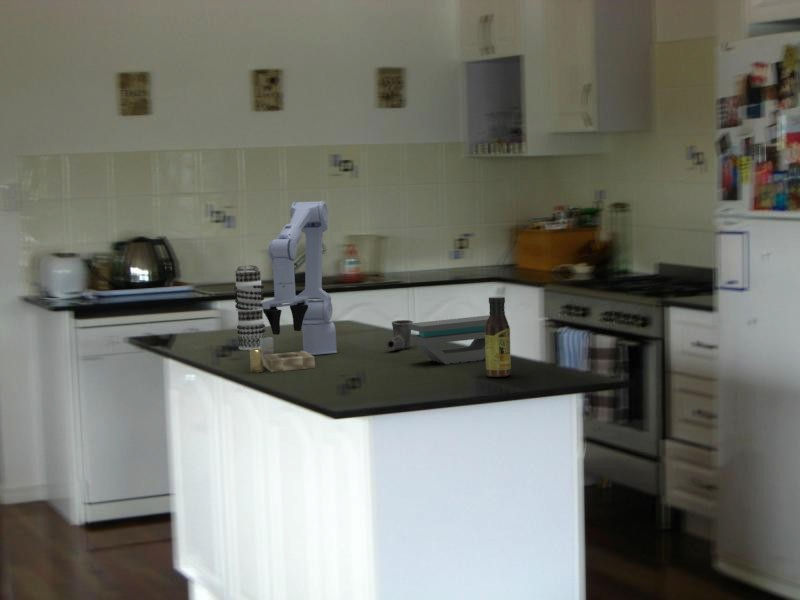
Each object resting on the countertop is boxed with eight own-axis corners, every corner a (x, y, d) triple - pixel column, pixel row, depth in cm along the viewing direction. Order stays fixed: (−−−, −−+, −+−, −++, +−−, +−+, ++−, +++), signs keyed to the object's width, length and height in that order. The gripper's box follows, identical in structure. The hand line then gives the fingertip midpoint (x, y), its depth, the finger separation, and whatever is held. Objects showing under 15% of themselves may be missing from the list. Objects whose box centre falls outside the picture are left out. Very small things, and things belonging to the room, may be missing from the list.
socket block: (305, 361, 353) (305, 351, 353) (315, 367, 341) (314, 356, 341) (263, 365, 350) (262, 354, 349) (271, 371, 338) (270, 360, 338)
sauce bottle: (503, 378, 312) (501, 298, 310) (481, 377, 316) (478, 298, 313) (515, 374, 318) (513, 295, 316) (493, 373, 321) (491, 295, 319)
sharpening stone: (423, 367, 335) (421, 326, 334) (410, 363, 342) (408, 323, 341) (504, 357, 346) (503, 317, 345) (490, 353, 353) (489, 315, 352)
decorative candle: (263, 344, 391) (259, 264, 388) (270, 348, 382) (265, 266, 379) (234, 347, 388) (229, 266, 385) (240, 351, 379) (235, 268, 376)
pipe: (382, 353, 364) (380, 325, 363) (398, 346, 375) (397, 319, 375) (401, 353, 361) (400, 325, 361) (417, 346, 373) (416, 319, 372)
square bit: (272, 361, 356) (271, 337, 355) (274, 363, 353) (273, 338, 352) (261, 362, 355) (259, 337, 354) (263, 364, 352) (261, 339, 351)
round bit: (261, 370, 341) (260, 348, 340) (263, 372, 338) (262, 350, 337) (250, 371, 340) (248, 349, 340) (252, 373, 337) (250, 351, 336)
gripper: (295, 279, 351) (297, 328, 352) (254, 285, 341) (256, 334, 342) (311, 280, 346) (314, 329, 347) (270, 286, 336) (273, 336, 337)
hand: (287, 332), depth 345 cm, fingers open, 7 cm apart
